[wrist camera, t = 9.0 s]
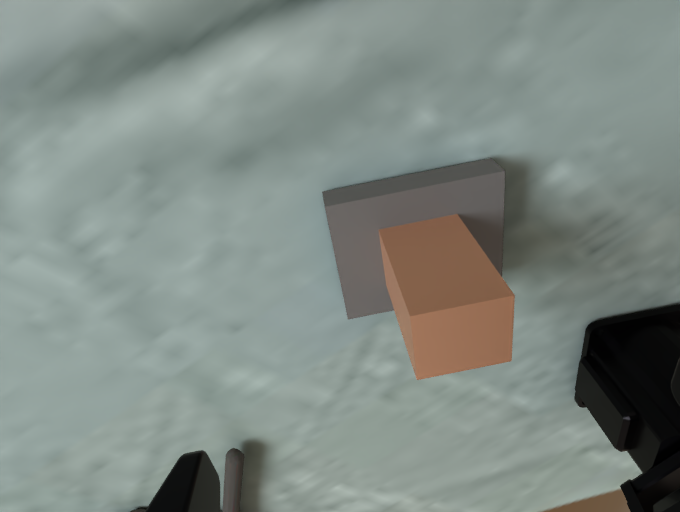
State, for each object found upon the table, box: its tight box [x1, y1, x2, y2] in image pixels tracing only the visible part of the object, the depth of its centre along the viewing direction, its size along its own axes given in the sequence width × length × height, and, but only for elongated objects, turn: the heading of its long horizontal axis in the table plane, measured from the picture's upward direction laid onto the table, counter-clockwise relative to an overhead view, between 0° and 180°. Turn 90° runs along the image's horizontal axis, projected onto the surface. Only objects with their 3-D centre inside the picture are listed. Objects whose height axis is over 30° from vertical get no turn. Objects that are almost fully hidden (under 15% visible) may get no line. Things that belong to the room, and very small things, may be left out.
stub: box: [322, 158, 515, 380], centre depth 18 cm, size 7×6×7 cm
